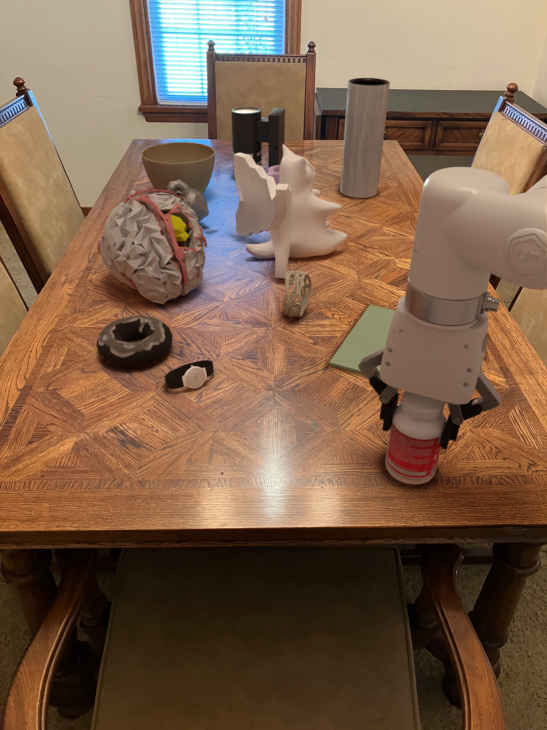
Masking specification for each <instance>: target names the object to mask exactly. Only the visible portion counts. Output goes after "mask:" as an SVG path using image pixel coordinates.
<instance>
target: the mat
mask: <svg viewBox="0 0 547 730" xmlns="http://www.w3.org/2000/svg"><path fill="white" fill-rule="evenodd" d="M395 310H396V309H395ZM395 310H394V309H391V308H386V307H382V306H378V305H373V304H369V305H368V307H367V308H366V310H365V311H364V312H363V313H362V314H361V316H360V318H359V319H358V320H357V322H356V324H355V325H354V326H353V328H352V329H351V330H350V332H349V334H348V335H347V336H346V338H345V339H344V341H342V344H341V345H340V346H339V348H338V349H337V351H336V352H335V353H334V355H333V356H332V357H331V359H330V361H329V363H328V365H329V366H331V367H335V368H338V369H342V370H344V371H345V370H346V371H348V372H352V373H356V374H360V375H363V376H364V374H363V373H362V372H361V371H360V369H359V368H358V366H359V364H360V362H361V361H362V359H364V358H366V357H367V356H369V355H371V354H373V353H375V352H377V351H379V350H381V349H383V348H384V347H385V344H386V340H387V336H388V332H389V328H390V325H391V321H392V318H393V315H394V313H395ZM380 368H381V365H379V366H377V369H378V371H380Z"/></svg>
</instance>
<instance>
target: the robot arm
mask: <svg viewBox="0 0 547 730" xmlns="http://www.w3.org/2000/svg"><path fill="white" fill-rule="evenodd" d="M411 250H412V251H411V256H410V264H409V270H408V276H407V283H406V289H405V294H404V295H402V296H401V297H400V298H399V300H398V303H397V305H396V306H395V307H396V308H395V313H394V315H393V318H392V321H391V325H390V328H389V332H388V336H387V340H386V344H385V347H384V348H383V349H381V350H379V351H377V352H375V353H373V354H371V355H369V356H367V357H366V358H364V359H362V361H361V362H360V364H359V366H358V368H359V369H360V371H361V372H362V373H363V374H364V375H363V374H362V375H363V376H364V377H365V378H366V379H367V380H368V383H369V385H370V386H371V388H372V390H373V391H375V392H376V394H377V395H378V396H379V397H378V400H379V402H380V403H381V406H380V410H379V411H380V413H379V419H380V420H382V421H383V423H382V429H381V430H382V431H383V432H386V433H387V432H388V431H389V432H390V429H391V422H392V416H393V413H394V410H395V409H396V408H397V406H398V405H399V404H398V403H399V397H400V394H399V390H401V391H404V392H405V391H408V392H411V393H415V394H419V395H422V396H426V397H429V398H433V399H437V400H440V401H444V402H445V403H446V404H447V406H448V411H449V414H448V416H447V418H446V425H445V429H444V434H443V438H442V442H441V446H440V447H441V450H445V451H447V449H448V447H449V443H450V442H451V441H452V442H456V441H457V438H458V436H459V431H460V427H461V425H462V424H463V423H464V421H467V420H470V419H472V418H475V417H477V416H480V415H481V414H482V413H483V412H488V411H490V410H493V409H495V408H497V407H500V405H501V400H502V395H501V394H500V392H499V391H498V390H497V389H496V387H495V386H494V385H493V384H492V382H491V381H490V380H489V378H488V377H487V376H486V374H485V373H484V372H483V371H482V367H483V363H484V357H485V354H486V353H485V352H486V348H487V341H488V333H489V332H488V331H489V314H488V313H489V312H492V313H498V310H499V306H500V304H501V298H496V297H494V295H490V291H488V288H489V282H490V280H491V279H490V278H491V275H493V276H496V277H497V278H499V279H501V280H503V281H505V282H508V283H510V284H512V285H515V286H517V287H520V288H524V289H528V290H536V291H543V290H547V174H546V175H544V176H543V177H542V178H541V179H539V180H537V182H536V183H535V184H534V185H532V186H531V187H530V188H529V189H528V190H527V191H525V192H522V193H517V194H510V188H509V184H508V182H507V181H506V180H505V179H504V178H503V177H502V175H499V174H498V173H495V172H492V171H489V170H487V169H482V168H479V167H478V168H477V167H471V166H451V167H445V168H441V169H438V170H435V171H434V172H432V173H431V174H429V176H428V177H427V178H426V179H425V181H424V183H423V185H422V189H421V193H420V199H419V205H418V212H417V218H416V226H415V231H414V238H413V244H412V249H411ZM379 365H381V368H380V371H378V369H377V366H379ZM475 390H476V392H477V393H478V394H479V396H480V397H474V398H473V395H474V393H475Z"/></svg>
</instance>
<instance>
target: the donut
mask: <svg viewBox="0 0 547 730" xmlns="http://www.w3.org/2000/svg"><path fill="white" fill-rule="evenodd" d="M173 338H174V336H173V333H172V331H171V328H170V326H169V325H167V324H166V323H165V322H164V321H163V320H161V319H159V318H156V317H153V316H148V315H130V316H126V317H122V318H118V319H115V320H113V321H112V322H110V323H108V324H107V325H106V326H105V327H104V328H103V329H101V331H100V332H99V333H98V337H97V340H96V348H97V351H98V354H99V355H100V356H101V358H102V360H104V361H105V362H107V363H108V364H111V365H112V366H115V367H120V368H127V369H134V368H142V367H145V366H149V365H152V364H154V363H157V362H158V361H160V360H161V359H162V358H164V357H165V356H166V355H168V353H169V352H170V350H171V349H172V346H173V340H174V339H173Z"/></svg>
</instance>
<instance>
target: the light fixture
mask: <svg viewBox="0 0 547 730" xmlns="http://www.w3.org/2000/svg"><path fill="white" fill-rule="evenodd" d="M230 117H231V118H230V119H231V141H232V143H231V144H232V155H233V154H237V153H244V154H247V155H251V156H252V158H253V160H254V161H255V163H256V165H259V166H262V167H263V162H262V161H263V153H262V151H263V150H262V148H263V147H262V145H263V143H267V144H268V149H267V151H268V152H267V153H268V154H267V155H268V157H267V159H268V161H267V163H268V165H267V166H268V167H267V169H268V168H269V167H272V166H276V165H280V164H281V161H282V158H283V148H282V145H283V144H284V145H285V133H286V132H285V130H286V129H285V128H286V108H285V107H274V108H273V109H272V110H271V111H270V113H269V114H268V115H267V117H262V109H260V108H258V107H253V106H240V107H235V108H232V109H231V111H230ZM232 161H233V163H232V169H233V174H234V159H233V158H232ZM233 178H234V179H235V177H234V176H233Z"/></svg>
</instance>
